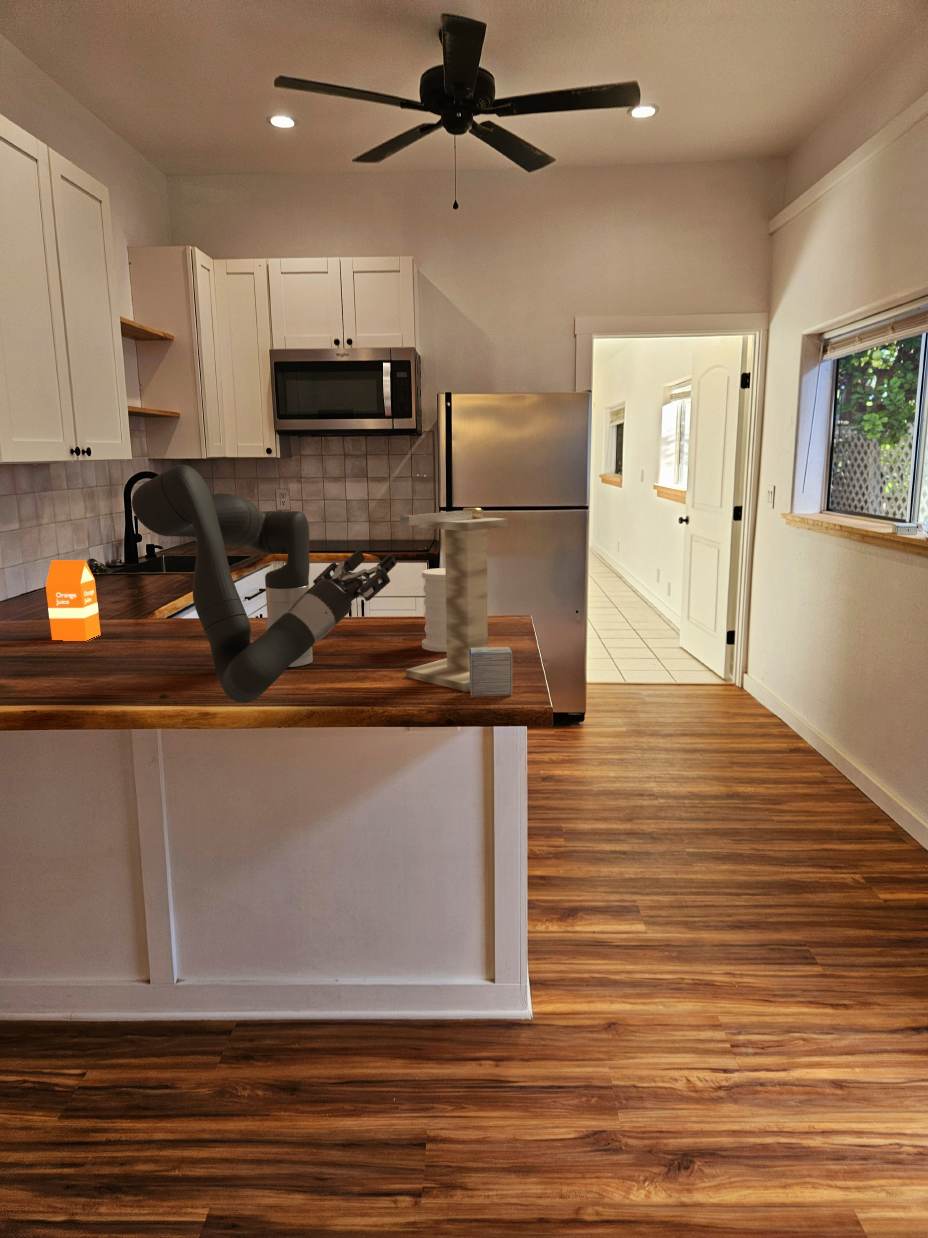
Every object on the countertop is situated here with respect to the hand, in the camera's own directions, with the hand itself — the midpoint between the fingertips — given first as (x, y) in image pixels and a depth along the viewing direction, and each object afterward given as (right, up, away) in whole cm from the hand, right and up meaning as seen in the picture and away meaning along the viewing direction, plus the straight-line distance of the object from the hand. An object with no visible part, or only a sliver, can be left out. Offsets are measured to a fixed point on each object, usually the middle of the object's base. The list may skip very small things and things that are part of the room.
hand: (377, 556), depth 144 cm
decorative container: (+11, -18, +47) cm, 52 cm away
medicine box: (+21, -26, +9) cm, 34 cm away
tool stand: (+14, -23, +21) cm, 34 cm away
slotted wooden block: (+12, +8, +12) cm, 19 cm away
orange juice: (-83, -16, +60) cm, 104 cm away
